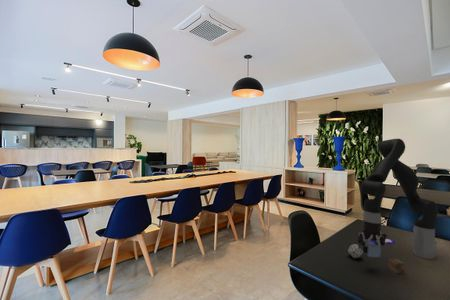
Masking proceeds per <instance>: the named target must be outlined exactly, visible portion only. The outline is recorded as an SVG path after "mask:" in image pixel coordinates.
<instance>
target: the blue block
mask: <svg viewBox="0 0 450 300" xmlns="http://www.w3.org/2000/svg"><path fill="white" fill-rule="evenodd" d="M361 246H362V245H361ZM367 247H368V251H367V254H365V253H364V252H363V246H362V247H361V249H362V252H363V253H364V254H365V255H367V256H368V257H370V258H381V249H382V246H381V247H380V246H378V245H377V244H375V243H373V242H370V243H368V246H367ZM363 253H362V254H363Z"/></svg>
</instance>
